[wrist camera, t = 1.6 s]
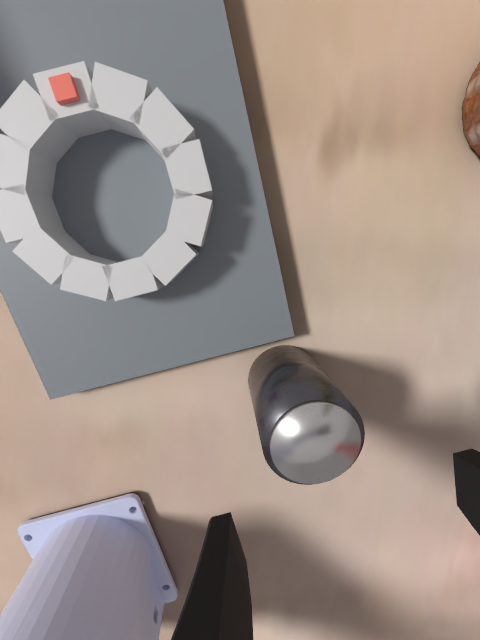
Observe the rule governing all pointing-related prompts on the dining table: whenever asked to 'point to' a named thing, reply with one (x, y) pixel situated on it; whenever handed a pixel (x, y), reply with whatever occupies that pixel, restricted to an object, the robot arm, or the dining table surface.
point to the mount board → (130, 191)
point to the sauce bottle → (472, 111)
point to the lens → (303, 417)
